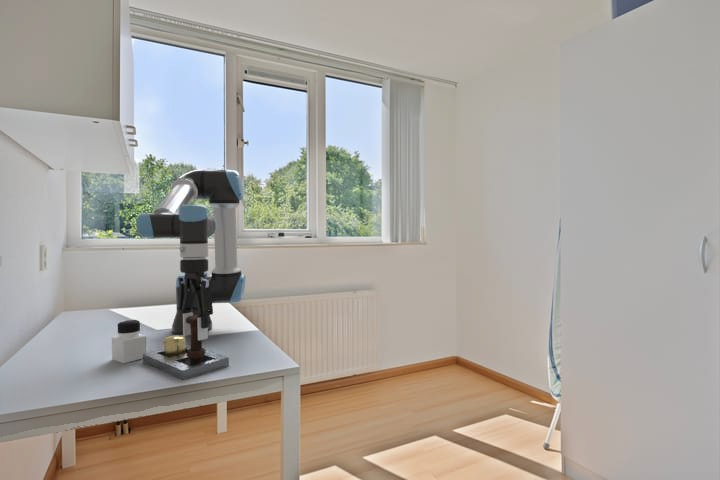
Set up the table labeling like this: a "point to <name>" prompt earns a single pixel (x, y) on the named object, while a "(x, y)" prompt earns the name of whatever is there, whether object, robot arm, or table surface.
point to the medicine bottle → (128, 342)
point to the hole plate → (183, 359)
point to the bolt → (195, 342)
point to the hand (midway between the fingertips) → (195, 336)
